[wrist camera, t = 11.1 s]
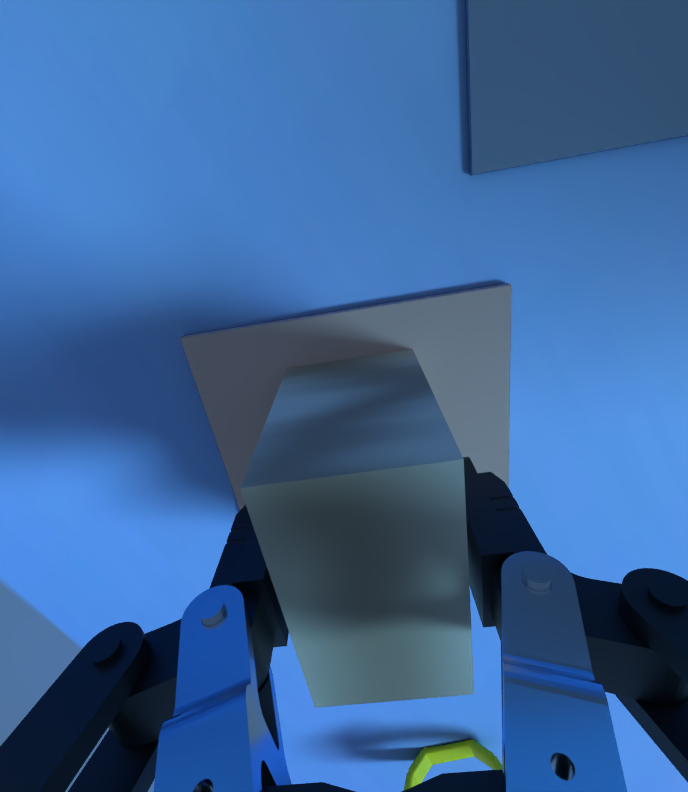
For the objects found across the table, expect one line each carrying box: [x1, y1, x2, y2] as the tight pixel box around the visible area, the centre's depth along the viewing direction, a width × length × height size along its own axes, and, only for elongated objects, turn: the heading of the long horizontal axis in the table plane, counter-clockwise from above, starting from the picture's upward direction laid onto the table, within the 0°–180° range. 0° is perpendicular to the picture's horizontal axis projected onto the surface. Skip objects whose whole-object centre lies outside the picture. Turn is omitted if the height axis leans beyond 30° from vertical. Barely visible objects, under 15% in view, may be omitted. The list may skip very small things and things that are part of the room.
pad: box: [180, 283, 511, 510], centre depth 14 cm, size 10×10×1 cm
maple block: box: [240, 349, 474, 708], centre depth 11 cm, size 4×7×6 cm, turn 9°
